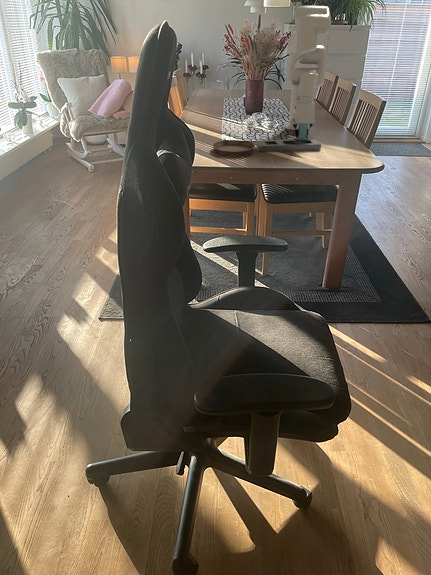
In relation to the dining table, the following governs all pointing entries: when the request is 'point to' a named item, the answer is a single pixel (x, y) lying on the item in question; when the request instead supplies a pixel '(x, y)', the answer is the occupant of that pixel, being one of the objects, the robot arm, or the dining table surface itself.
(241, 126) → the dining table surface
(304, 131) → the square block
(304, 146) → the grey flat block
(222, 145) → the plant saucer
